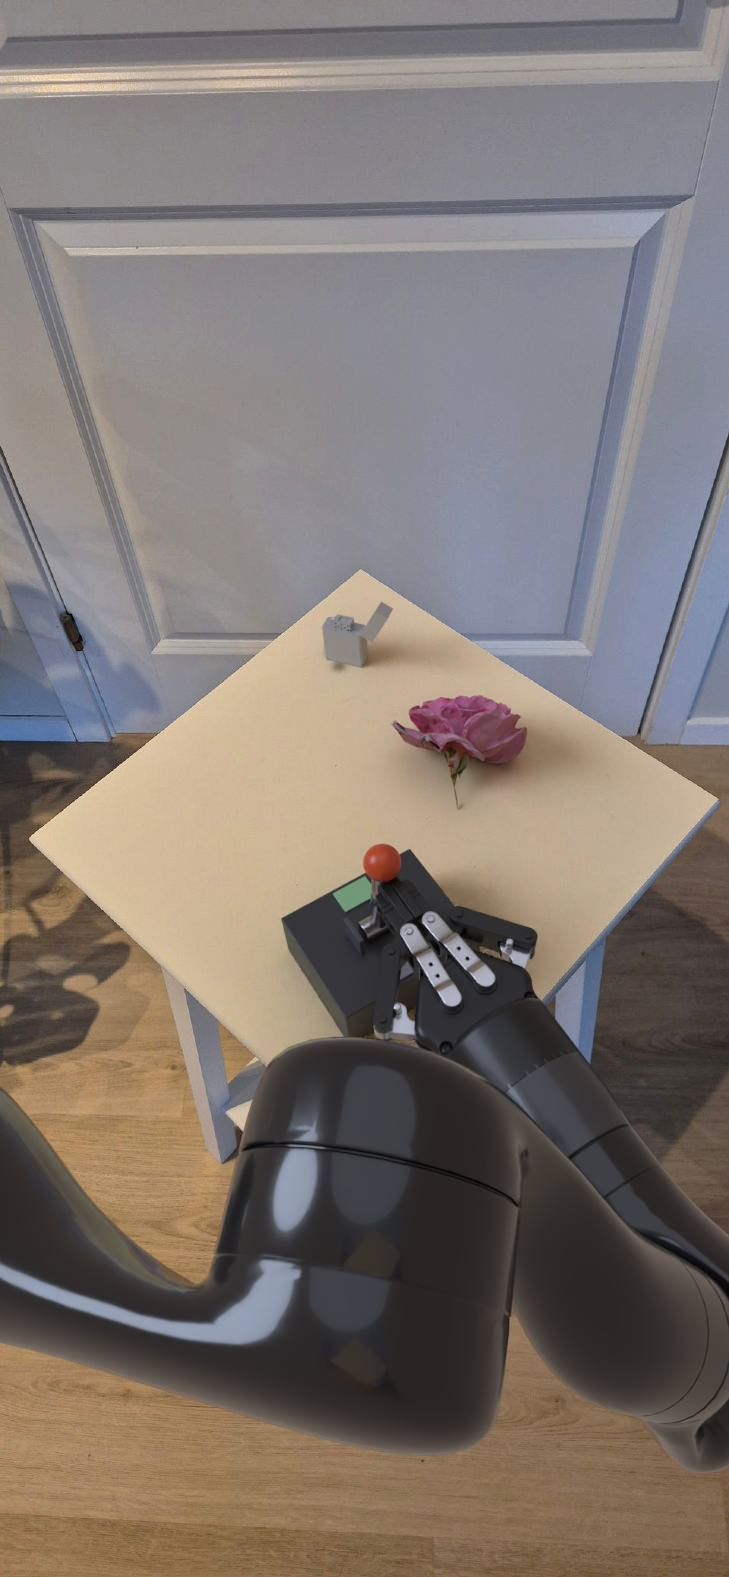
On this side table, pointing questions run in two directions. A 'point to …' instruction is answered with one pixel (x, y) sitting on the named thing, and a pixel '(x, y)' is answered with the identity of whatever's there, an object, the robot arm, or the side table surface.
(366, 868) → the toggle
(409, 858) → the switch box
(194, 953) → the side table surface
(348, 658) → the lighter
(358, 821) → the side table surface
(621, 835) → the side table surface
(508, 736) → the flower
